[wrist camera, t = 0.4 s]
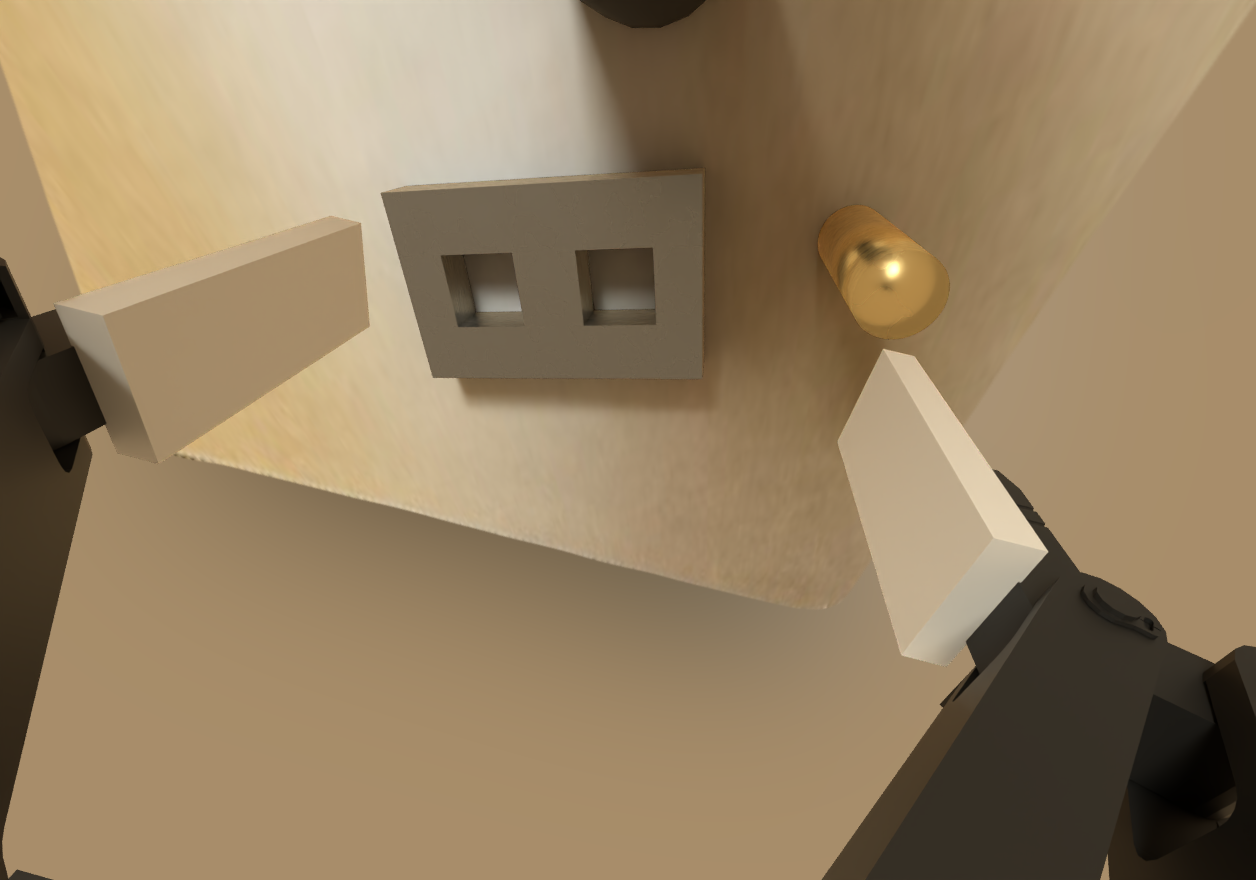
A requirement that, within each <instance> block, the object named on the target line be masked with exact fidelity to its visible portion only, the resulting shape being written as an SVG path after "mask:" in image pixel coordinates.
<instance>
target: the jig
mask: <svg viewBox="0 0 1256 880" xmlns="http://www.w3.org/2000/svg"><path fill="white" fill-rule="evenodd" d="M381 196H382V199H383V203H384V206H385V210H386V213H387V217H388V220H389V224H390V228H391V231H392V235H393V238H394V242H395V245H396V249H397V252H398V256H399V259H400V263H401V266H402V270H403V274H404V277H405V281H406V284H407V288H408V291H409V295H410V298H411V302H412V305H413V309H414V312H415V316H416V319H417V323H418V327H419V330H420V334H421V337H422V341H423V344H424V348H425V351H426V355H427V358H428V362H429V365H430V369H431V372H432V376H433V378H575V379H702V377H703V368H704V291H705V168H691V169H675V170H659V171H642V172H626V173H610V174H594V175H577V176H561V177H545V178H529V179H512V180H496V181H480V182H463V183H447V184H431V185H415V186H404V187H401V188H397V189H393V190H390V191H386V192H382V193H381ZM627 248H653V262H654V285H655V307H656V309H642V310H594V307H593V297H592V288H591V278H590V269H589V260H588V250H599V249H627ZM491 253H512V258H513V263H514V269H515V275H516V280H517V286H518V292H519V297H520V303H521V309H522V312H476V310H475V306H474V301H473V297H472V292H471V288H470V283H469V279H468V274H467V270H466V265H465V261H464V256H463V255H464V254H491Z"/></svg>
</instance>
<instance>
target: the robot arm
mask: <svg viewBox="0 0 1256 880" xmlns="http://www.w3.org/2000/svg"><path fill="white" fill-rule="evenodd" d="M54 306H55V308H56V309H55V310H52V311H49V312H45V313H42V314H40V315H36V316H33V317H31V316H30V313H29V312H28V309H27V307H26V304H25V302H24V300H23V298H22V296H21V294H20V291H19V289H18V287H17V285H16V283H15V280H14V278H13V276H12V274H11V272H10V269H9V267H8V265H7V263H6V261H5V260H4V259H2V258H0V880H52V879H48V878H45V877H41V876H38V875H34V874H31V873H27V872H23V871H20V870H16V871H15V872H14V873H13V875H12V876H11V877H10V878H9V879H8V876H7V871H6V868H5V864H4V860H3V852H2V838H3V832H4V826H5V822H6V817H7V813H8V809H9V805H10V800H11V796H12V792H13V788H14V783H15V779H16V775H17V771H18V767H19V762H20V758H21V754H22V750H23V746H24V741H25V737H26V733H27V729H28V724H29V720H30V716H31V711H32V707H33V703H34V699H35V695H36V690H37V686H38V682H39V678H40V673H41V669H42V665H43V661H44V657H45V653H46V648H47V644H48V640H49V636H50V631H51V627H52V623H53V618H54V614H55V610H56V606H57V602H58V598H59V593H60V589H61V585H62V581H63V576H64V572H65V568H66V564H67V560H68V555H69V551H70V547H71V542H72V538H73V534H74V530H75V526H76V521H77V517H78V513H79V509H80V505H81V500H82V496H83V492H84V487H85V483H86V479H87V475H88V471H89V467H90V462H91V458H92V451H91V447H90V445H89V443H88V441H87V438H86V436H85V435H86V434H88V433H90V432H91V431H93V430H95V429H97V428H99V427H101V426H103V425H106V428H107V430H108V433H109V435H110V437H111V440H112V442H113V444H114V447H115V449H116V451H117V453H118V454H122V455H126V456H130V457H134V458H138V459H142V460H146V461H149V462H153V463H158V464H159V463H161V462H162V461H164V460H166V459H167V458H169V457H170V456H172V455H173V454H175V453H176V452H178V451H179V450H181V449H182V448H184V447H185V446H187V445H189V444H190V443H192V442H193V441H195V440H196V439H198V438H199V437H201V436H202V435H204V434H205V433H207V432H208V431H210V430H212V429H213V428H215V427H216V426H218V425H219V424H221V423H222V422H224V421H225V420H227V419H228V418H230V417H231V416H233V415H234V414H236V413H238V412H239V411H241V410H242V409H244V408H245V407H247V406H248V405H250V404H251V403H253V402H254V401H256V400H257V399H259V398H261V397H262V396H264V395H265V394H267V393H268V392H270V391H271V390H273V389H274V388H276V387H277V386H279V385H280V384H282V383H284V382H285V381H287V380H288V379H290V378H291V377H293V376H294V375H296V374H297V373H299V372H300V371H302V370H303V369H305V368H307V367H308V366H310V365H311V364H313V363H314V362H316V361H317V360H319V359H320V358H322V357H323V356H325V355H326V354H328V353H329V352H331V351H333V350H334V349H336V348H337V347H339V346H340V345H342V344H343V343H345V342H346V341H348V340H349V339H351V338H352V337H354V336H356V335H357V334H359V333H360V332H362V331H363V330H365V329H366V328H368V327H369V326H370V324H369V312H368V301H367V289H366V278H365V266H364V255H363V243H362V231H361V223H359V222H355V221H351V220H346V219H342V218H338V217H334V216H329V217H326V218H323V219H320V220H316V221H313V222H310V223H307V224H304V225H301V226H297V227H294V228H291V229H288V230H285V231H281V232H278V233H275V234H272V235H269V236H266V237H262V238H259V239H256V240H253V241H250V242H246V243H243V244H240V245H237V246H234V247H231V248H227V249H224V250H221V251H218V252H215V253H211V254H208V255H205V256H202V257H199V258H196V259H192V260H189V261H186V262H183V263H180V264H177V265H173V266H170V267H167V268H164V269H161V270H157V271H154V272H151V273H148V274H145V275H142V276H138V277H135V278H132V279H129V280H126V281H122V282H119V283H116V284H113V285H110V286H107V287H103V288H100V289H97V290H94V291H91V292H87V293H84V294H81V295H78V296H75V297H72V298H69V299H65V300H62V301H59V302H56V303H54ZM837 443H838V446H839V449H840V453H841V456H842V459H843V463H844V466H845V469H846V473H847V476H848V479H849V483H850V486H851V489H852V493H853V496H854V499H855V503H856V506H857V509H858V513H859V516H860V519H861V523H862V526H863V529H864V533H865V536H866V539H867V543H868V546H869V549H870V553H871V556H872V559H873V563H874V566H875V570H876V573H877V576H878V580H879V583H880V586H881V590H882V593H883V596H884V600H885V603H886V606H887V609H888V613H889V616H890V620H891V623H892V626H893V629H894V633H895V636H896V640H897V643H898V646H899V650H900V653H901V655H902V656H906V657H910V658H914V659H918V660H922V661H926V662H930V663H933V664H937V665H941V666H945V667H947V666H948V664H949V663H950V662H951V661H952V660H953V659H954V658H955V657H956V656H957V654H958V653H959V652H960V651H961V650H962V649H963V648H964V646H965V645H966V644H967V646H968V648H969V650H970V653H971V655H972V658H973V660H974V662H975V665H976V666H975V668H974V669H973V670H972V671H971V672H970V673H969V674H968V675H967V676H966V677H965V678H964V679H963V680H962V681H961V682H960V683H959V685H958V686H957V687H956V688H955V689H954V690H953V691H952V692H951V693H950V694H949V695H948V696H947V697H946V698H945V699H944V701H943V702H942V703H941V704H940V705H941V706H942V707H943V709H942V710H941V712H940V713H939V714H938V716H937V717H936V719H935V720H934V722H933V723H932V724H931V726H930V727H929V729H928V730H927V732H926V733H925V734H924V736H923V737H922V739H921V740H920V741H919V743H918V744H917V746H916V747H915V748H914V750H913V751H912V753H911V754H910V756H909V757H908V758H907V760H906V761H905V763H904V764H903V765H902V767H901V768H900V770H899V771H898V772H897V774H896V775H895V777H894V778H893V780H892V781H891V782H890V784H889V785H888V787H887V788H886V789H885V791H884V792H883V794H882V795H881V797H880V798H879V799H878V801H877V802H876V804H875V805H874V806H873V808H872V809H871V811H870V812H869V814H868V815H867V816H866V818H865V819H864V821H863V822H862V823H861V825H860V826H859V828H858V829H857V831H856V832H855V833H854V835H853V836H852V838H851V839H850V841H849V842H848V843H847V845H846V846H845V848H844V849H843V851H842V852H841V853H840V855H839V856H838V857H837V859H836V860H835V862H834V863H833V864H832V866H831V867H830V869H829V870H828V872H827V873H826V874H825V876H824V877H823V879H822V880H1100V878H1101V874H1102V871H1103V868H1104V864H1105V861H1106V857H1107V854H1108V865H1109V878H1110V880H1256V647H1252V646H1245V645H1244V646H1241V647H1239V648H1237V649H1235V650H1233V651H1232V652H1230V653H1229V654H1228V655H1226V656H1225V657H1224V658H1222V659H1221V660H1220V661H1218V662H1217V663H1216V664H1214V663H1212V662H1210V661H1208V660H1206V659H1203V658H1201V657H1199V656H1197V655H1194V654H1192V653H1190V652H1188V651H1185V650H1183V649H1181V648H1179V647H1177V646H1174V645H1172V644H1170V643H1168V642H1167V637H1166V631H1165V630H1164V628H1163V627H1162V625H1161V624H1160V623H1159V621H1158V620H1157V618H1156V617H1155V616H1154V615H1153V614H1152V613H1151V612H1150V611H1149V610H1148V609H1146V608H1145V607H1144V606H1143V605H1142V604H1141V603H1140V602H1139V601H1137V600H1136V599H1134V598H1133V597H1132V596H1130V595H1129V594H1127V593H1126V592H1124V591H1123V590H1121V589H1120V588H1118V587H1116V586H1114V585H1112V584H1110V583H1108V582H1106V581H1104V580H1102V579H1101V578H1098V577H1094V576H1091V575H1088V574H1085V573H1081V572H1079V570H1078V569H1077V567H1076V566H1075V565H1074V563H1073V562H1072V560H1071V559H1070V558H1069V556H1068V555H1067V554H1066V552H1065V551H1064V550H1063V548H1062V547H1061V545H1060V544H1059V543H1058V541H1057V540H1056V538H1055V537H1054V536H1053V534H1052V533H1051V531H1050V530H1049V529H1048V528H1047V527H1044V525H1045V523H1044V522H1043V520H1042V519H1041V517H1040V516H1039V515H1038V513H1037V512H1034V511H1033V509H1034V508H1033V506H1032V505H1031V504H1030V502H1029V501H1028V499H1027V498H1026V497H1025V495H1024V494H1023V493H1022V491H1021V490H1020V489H1019V488H1018V487H1017V486H1015V485H1014V484H1013V483H1012V482H1011V481H1009V480H1008V479H1007V478H1006V477H1005V476H1004V475H1003V474H1001V473H1000V472H999V471H997V470H993V469H991V467H990V466H989V464H988V463H987V461H986V460H985V458H984V457H983V456H982V454H981V453H980V451H979V450H978V448H977V447H976V445H975V444H974V443H973V441H972V440H971V438H970V437H969V435H968V434H967V432H966V431H965V429H964V428H963V426H962V425H961V423H960V422H959V420H958V419H957V418H956V416H955V415H954V413H953V412H952V410H951V409H950V407H949V406H948V404H947V403H946V402H945V400H944V399H943V397H942V396H941V394H940V393H939V391H938V390H937V388H936V387H935V385H934V384H933V383H932V381H931V380H930V378H929V377H928V375H927V374H926V372H925V371H924V369H923V368H922V366H921V365H920V364H919V362H918V361H917V359H916V358H915V356H911V355H907V354H903V353H899V352H895V351H890V350H886V349H883V350H882V352H881V354H880V356H879V358H878V360H877V362H876V364H875V366H874V368H873V370H872V372H871V374H870V376H869V378H868V380H867V382H866V384H865V386H864V388H863V390H862V392H861V394H860V396H859V398H858V401H857V403H856V405H855V407H854V409H853V411H852V413H851V415H850V417H849V419H848V421H847V423H846V425H845V427H844V429H843V431H842V433H841V435H840V437H839V439H838V441H837Z"/></svg>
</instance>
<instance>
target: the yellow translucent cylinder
mask: <svg viewBox="0 0 1256 880" xmlns="http://www.w3.org/2000/svg"><path fill="white" fill-rule="evenodd" d="M818 252H819V255H820V257H821V259H822V261H823V262H824V264H825V266H826V268H827V269H828V271H829V273H830V275H831V277H832V278H833V280H834V282H835V284H836V286H837V287H838V289H839V291H840V293H841V295H842V296H843V298H844V300H845V302H846V304H847V305H848V307H849V309H850V311H851V312H852V314H853V316H854V318H855V320H856V321H857V323H858V324H859V326H860V327H861V328H862V329H863V330H864V331H866V332H867V333H869V334H870V335H873V336H875V337H878V338H882V339H900V338H905V337H909V336H911V335H914V334H916V333H918V332H920V331H922V330H923V329H925V328H926V327H928V326H929V325H930V324H931V323H932V322H933V321H934V320H935V319H936V318H937V317H938V316H939V314H940V313H941V312H942V310H943V308H944V307H945V304H946V302H947V299H948V296H949V290H950V283H949V277H948V274H947V271H946V269H945V268H944V266H943V265H942V263H941V262H940V261H939V260H938V259H936V258H935V257H934V256H932V255H931V254H930V253H929V252H927V251H926V250H925V249H923V248H922V247H921V246H920V245H918V244H917V243H916V242H915V241H913V240H912V239H911V238H909V237H908V236H907V235H906V234H904V233H903V232H902V231H901V230H899V229H898V228H897V227H895V226H894V225H893V224H892V223H890V222H889V221H888V220H886V219H885V218H884V217H883V216H881V215H880V214H879V213H878V212H876V211H875V210H873V209H872V208H870V207H867V206H863V205H851V206H847V207H844V208H842V209H840V210H838V211H836V212H835V213H833V214H832V215H831V216H830V217H829V218H828V219H827V220H826V222H825V223H824V224H823V226H822V228H821V230H820V233H819V236H818Z"/></svg>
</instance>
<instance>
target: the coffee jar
mask: <svg viewBox="0 0 1256 880" xmlns="http://www.w3.org/2000/svg"><path fill="white" fill-rule="evenodd" d="M580 1H582V2H583V3H585V4H586V5H588V6H589V7H591V8H592V9H594V10H595V11H597V12H599V13H600V14H602V15H603V16H605V17H607V18H609V19H612V20H614V21H617V22H619V23H622V24H624V25H627V26H629V27H632V28H659V27H663V26H665V25H668V24H670V23H672V22H675V21H677V20H680V19H682V18H684V17H687V16H689V15H690V14H691V13H692V12H693V11H694V10H695V9H696V8H698V7H699V6H700V5H701V4H702V3H703V2H704V1H705V0H580Z"/></svg>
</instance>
